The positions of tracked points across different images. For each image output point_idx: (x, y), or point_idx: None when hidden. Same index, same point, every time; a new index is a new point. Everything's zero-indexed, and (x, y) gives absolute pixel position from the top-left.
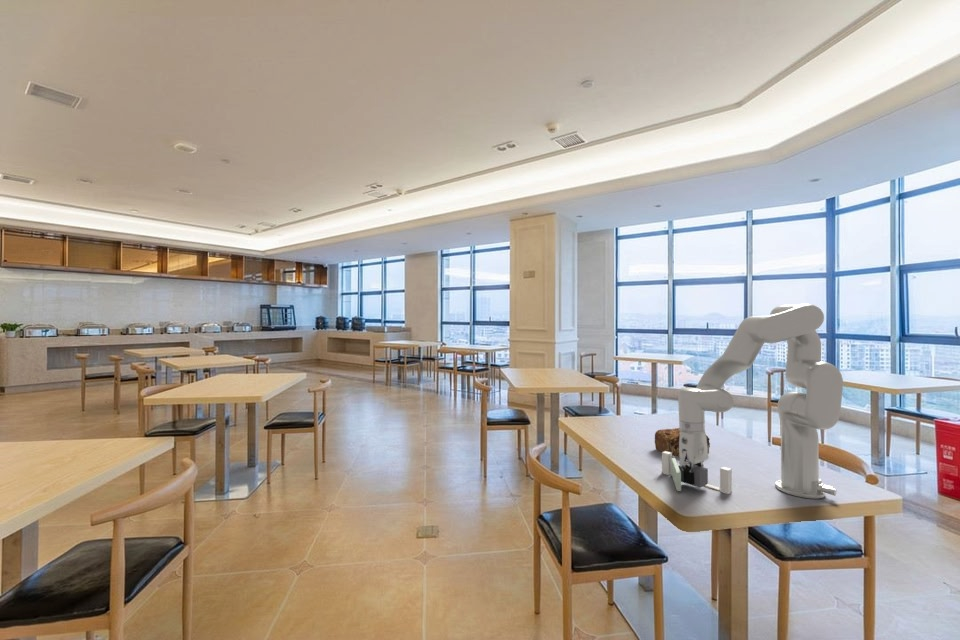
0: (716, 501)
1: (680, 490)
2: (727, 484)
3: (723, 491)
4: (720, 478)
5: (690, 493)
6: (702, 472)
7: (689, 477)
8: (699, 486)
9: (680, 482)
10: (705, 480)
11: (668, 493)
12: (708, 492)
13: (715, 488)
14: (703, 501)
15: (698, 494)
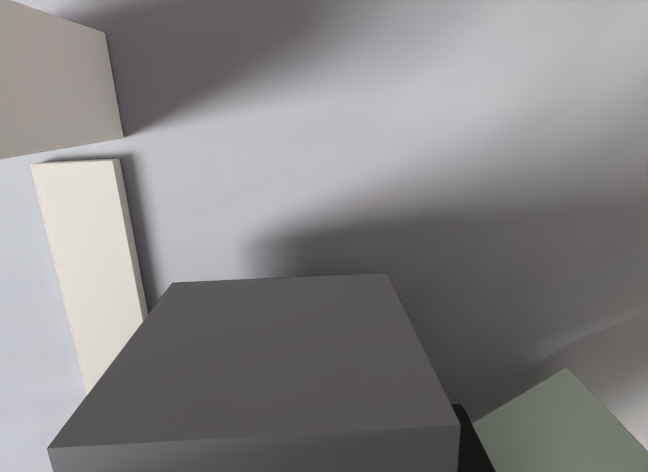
0: (461, 10)
1: (570, 373)
2: (22, 19)
3: (110, 95)
4: (2, 153)
5: (469, 301)
6: (323, 406)
7: (483, 453)
8: (390, 286)
9: (636, 443)
10: (225, 308)
11: (640, 412)
12: (273, 207)
13: (115, 203)
14: (583, 108)
15: (426, 241)
